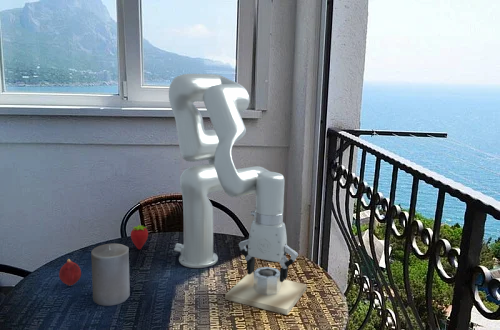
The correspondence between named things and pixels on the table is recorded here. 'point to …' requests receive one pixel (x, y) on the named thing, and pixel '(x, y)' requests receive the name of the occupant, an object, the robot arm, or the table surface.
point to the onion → (70, 273)
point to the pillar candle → (110, 274)
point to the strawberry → (139, 236)
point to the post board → (275, 302)
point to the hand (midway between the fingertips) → (266, 276)
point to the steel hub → (267, 282)
